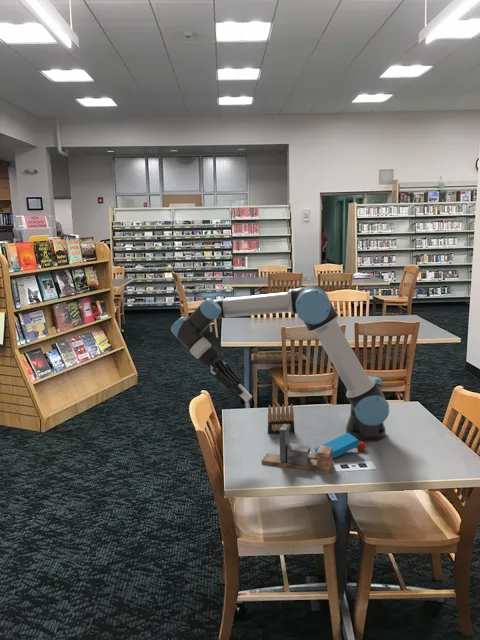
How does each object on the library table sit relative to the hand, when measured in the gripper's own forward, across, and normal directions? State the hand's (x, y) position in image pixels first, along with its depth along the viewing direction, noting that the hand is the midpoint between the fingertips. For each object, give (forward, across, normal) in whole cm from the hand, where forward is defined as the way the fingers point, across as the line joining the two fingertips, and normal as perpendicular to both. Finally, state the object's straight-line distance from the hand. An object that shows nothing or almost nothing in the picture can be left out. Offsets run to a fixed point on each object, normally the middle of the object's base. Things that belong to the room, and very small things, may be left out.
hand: (249, 399), depth 177 cm
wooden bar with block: (+28, +5, -1) cm, 28 cm away
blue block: (+37, -8, +8) cm, 39 cm away
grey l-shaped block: (+28, +5, +2) cm, 29 cm away
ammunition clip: (+18, -20, -10) cm, 29 cm away
